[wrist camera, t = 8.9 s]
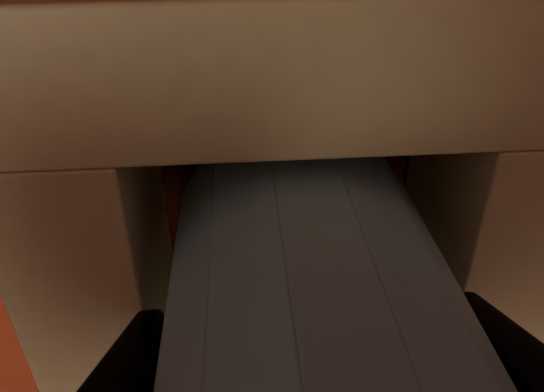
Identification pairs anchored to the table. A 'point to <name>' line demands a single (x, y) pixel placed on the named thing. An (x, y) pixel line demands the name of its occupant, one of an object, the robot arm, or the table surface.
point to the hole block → (253, 140)
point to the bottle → (315, 287)
